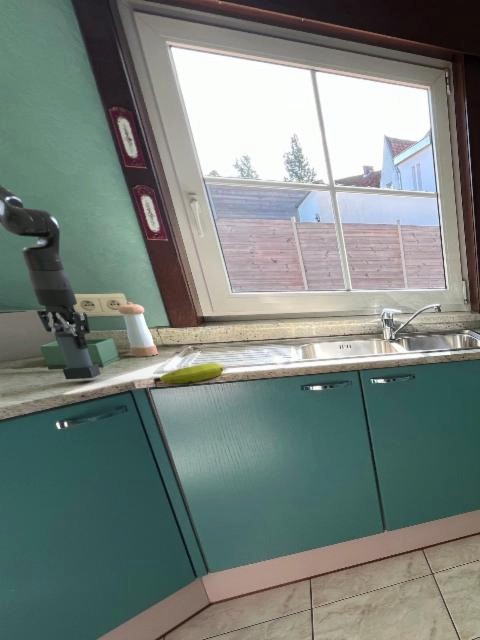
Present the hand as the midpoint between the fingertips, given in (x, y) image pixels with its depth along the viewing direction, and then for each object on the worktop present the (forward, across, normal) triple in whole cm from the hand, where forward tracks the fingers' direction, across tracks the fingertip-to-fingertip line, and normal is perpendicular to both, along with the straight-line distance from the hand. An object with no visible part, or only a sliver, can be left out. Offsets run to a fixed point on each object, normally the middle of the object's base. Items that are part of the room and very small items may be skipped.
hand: (73, 347), depth 142 cm
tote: (+10, -24, +18) cm, 32 cm away
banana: (+10, +23, +13) cm, 28 cm away
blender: (+9, 0, 0) cm, 9 cm away
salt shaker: (+10, -23, +36) cm, 44 cm away
